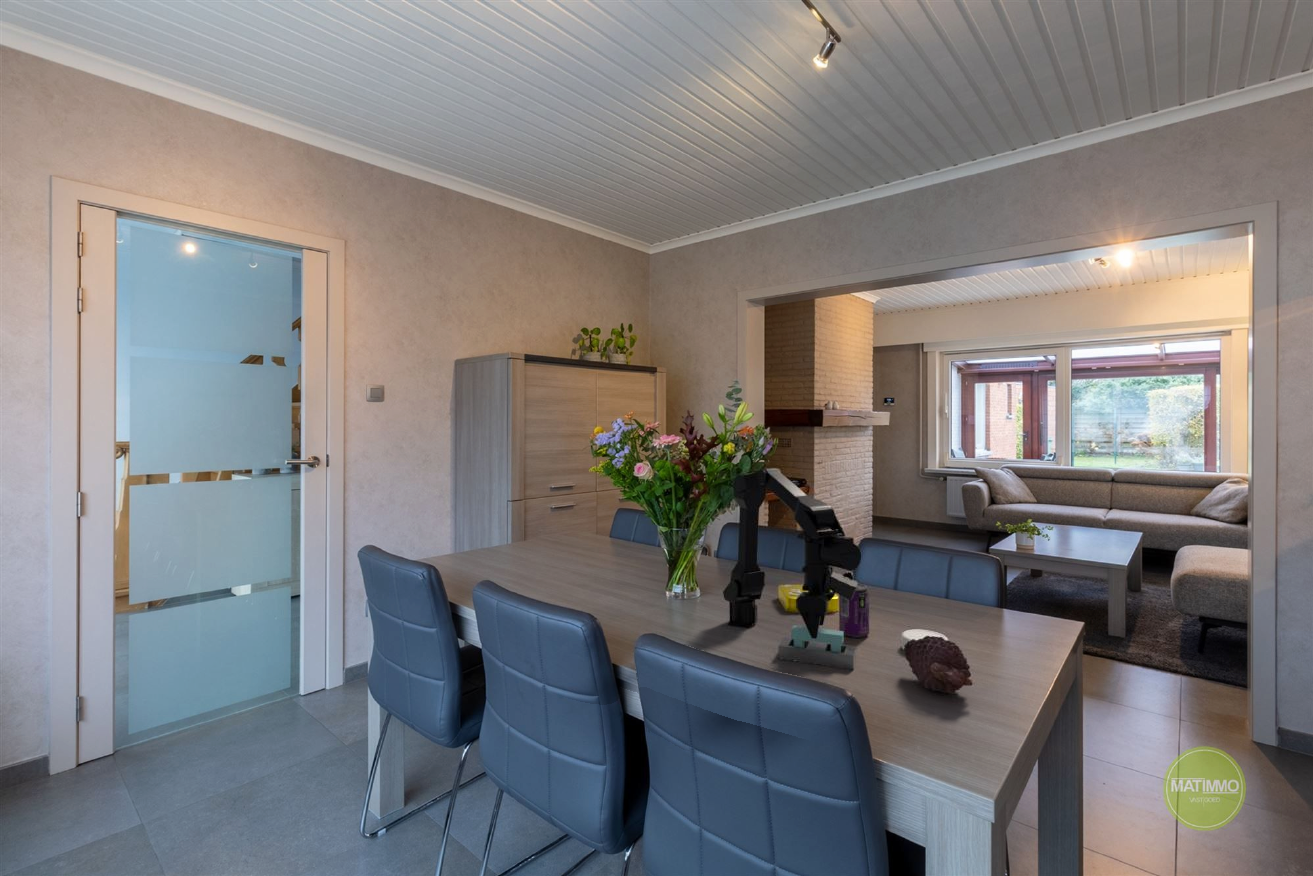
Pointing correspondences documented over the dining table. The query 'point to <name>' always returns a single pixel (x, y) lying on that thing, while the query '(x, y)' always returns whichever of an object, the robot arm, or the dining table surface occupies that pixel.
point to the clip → (818, 637)
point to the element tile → (791, 593)
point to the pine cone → (938, 664)
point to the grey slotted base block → (818, 653)
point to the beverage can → (855, 613)
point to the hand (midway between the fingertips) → (817, 631)
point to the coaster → (918, 635)
